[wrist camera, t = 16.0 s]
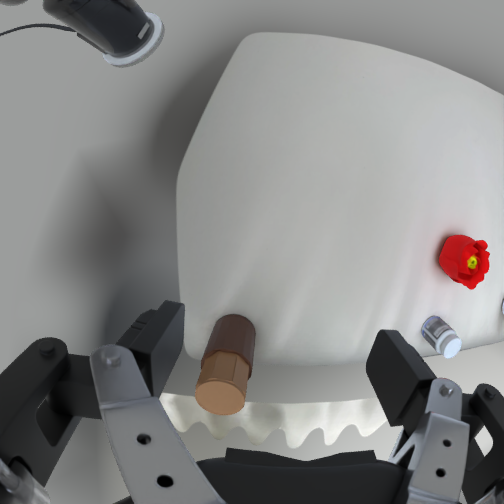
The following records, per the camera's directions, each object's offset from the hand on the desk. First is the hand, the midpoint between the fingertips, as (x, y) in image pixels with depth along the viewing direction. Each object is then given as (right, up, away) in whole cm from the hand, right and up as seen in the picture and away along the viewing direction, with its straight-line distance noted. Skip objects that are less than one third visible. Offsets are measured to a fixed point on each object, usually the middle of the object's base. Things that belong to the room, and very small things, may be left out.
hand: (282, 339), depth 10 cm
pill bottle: (+32, -10, +32) cm, 46 cm away
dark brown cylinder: (-4, -10, +33) cm, 35 cm away
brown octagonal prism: (-5, -12, +24) cm, 27 cm away
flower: (+33, +3, +28) cm, 43 cm away
